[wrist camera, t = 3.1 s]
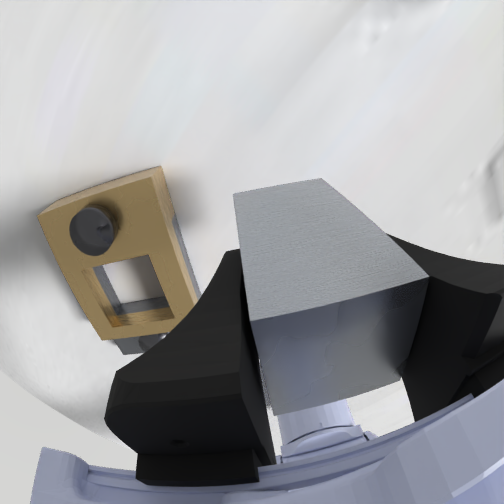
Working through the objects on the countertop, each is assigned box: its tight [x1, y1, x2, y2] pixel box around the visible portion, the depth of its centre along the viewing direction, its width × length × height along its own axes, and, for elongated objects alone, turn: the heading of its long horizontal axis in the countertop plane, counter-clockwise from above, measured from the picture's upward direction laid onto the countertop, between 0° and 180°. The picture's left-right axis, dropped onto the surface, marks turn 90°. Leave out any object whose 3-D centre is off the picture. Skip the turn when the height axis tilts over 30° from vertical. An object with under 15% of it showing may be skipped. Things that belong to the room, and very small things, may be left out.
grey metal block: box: [233, 178, 429, 416], centre depth 10 cm, size 4×4×8 cm
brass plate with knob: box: [37, 166, 201, 355], centre depth 20 cm, size 15×9×4 cm, turn 10°
